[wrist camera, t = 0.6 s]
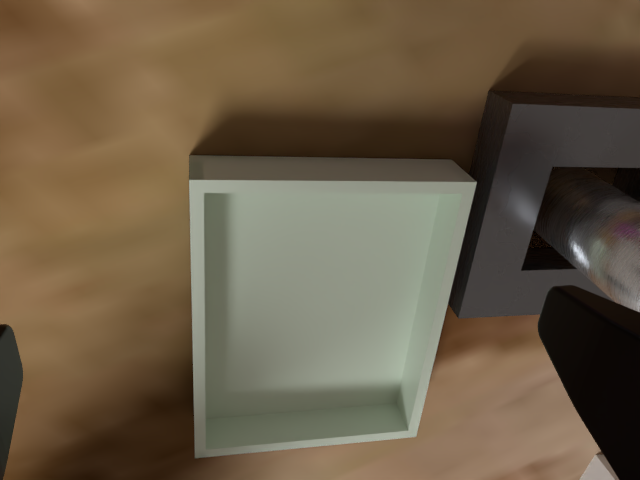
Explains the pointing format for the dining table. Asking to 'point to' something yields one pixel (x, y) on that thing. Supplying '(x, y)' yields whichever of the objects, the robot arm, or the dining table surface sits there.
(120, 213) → the dining table surface
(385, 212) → the tray
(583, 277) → the collar
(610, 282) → the salt shaker
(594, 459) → the white tape roll holder
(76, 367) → the dining table surface
